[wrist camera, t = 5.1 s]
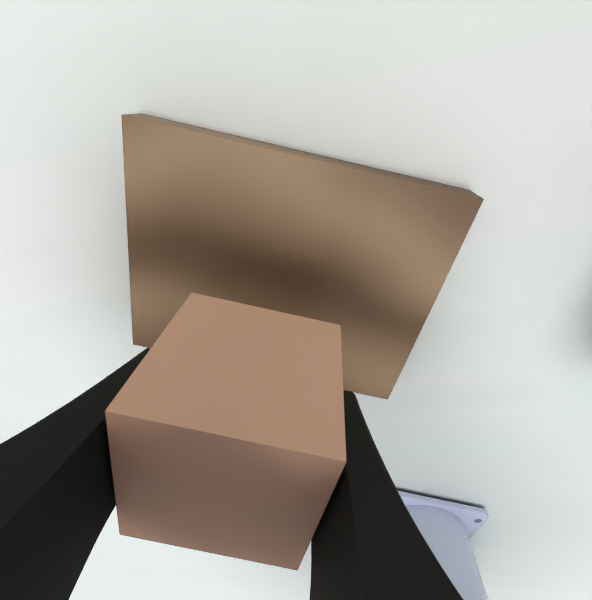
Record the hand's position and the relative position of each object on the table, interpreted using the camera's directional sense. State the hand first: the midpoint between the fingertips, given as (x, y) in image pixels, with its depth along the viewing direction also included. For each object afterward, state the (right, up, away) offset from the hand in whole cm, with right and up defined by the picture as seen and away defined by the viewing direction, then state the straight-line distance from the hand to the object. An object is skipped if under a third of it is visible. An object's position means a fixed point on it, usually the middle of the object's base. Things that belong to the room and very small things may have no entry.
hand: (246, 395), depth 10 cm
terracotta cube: (0, +1, +2) cm, 2 cm away
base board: (+1, +4, +7) cm, 8 cm away
